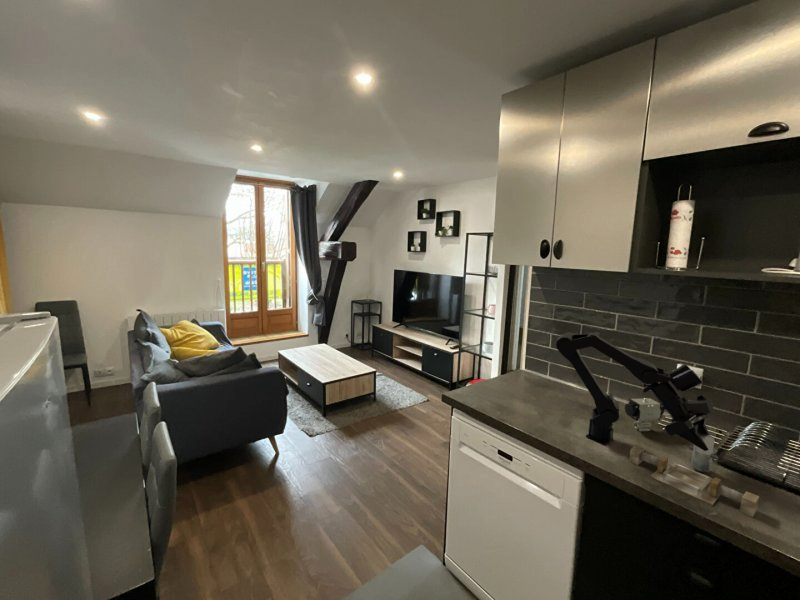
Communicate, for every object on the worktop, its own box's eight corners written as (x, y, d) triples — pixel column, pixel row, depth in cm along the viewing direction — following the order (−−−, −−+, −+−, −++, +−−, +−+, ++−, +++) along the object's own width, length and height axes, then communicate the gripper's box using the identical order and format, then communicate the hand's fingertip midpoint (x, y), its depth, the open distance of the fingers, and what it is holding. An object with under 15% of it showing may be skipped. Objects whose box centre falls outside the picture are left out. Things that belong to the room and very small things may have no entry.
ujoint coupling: (685, 465, 108) (689, 434, 106) (690, 460, 110) (694, 430, 109) (713, 476, 103) (718, 444, 101) (718, 471, 105) (723, 439, 104)
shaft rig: (624, 464, 109) (626, 451, 109) (639, 453, 115) (640, 441, 114) (749, 522, 87) (752, 506, 86) (759, 505, 92) (762, 490, 91)
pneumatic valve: (622, 426, 132) (625, 396, 130) (652, 425, 133) (655, 395, 131) (632, 434, 127) (636, 402, 125) (663, 433, 128) (668, 401, 126)
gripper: (683, 395, 101) (728, 449, 94) (705, 381, 112) (747, 429, 104) (648, 410, 109) (687, 461, 101) (672, 396, 119) (709, 441, 112)
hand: (709, 447), depth 105 cm, fingers closed on ujoint coupling, 4 cm apart
